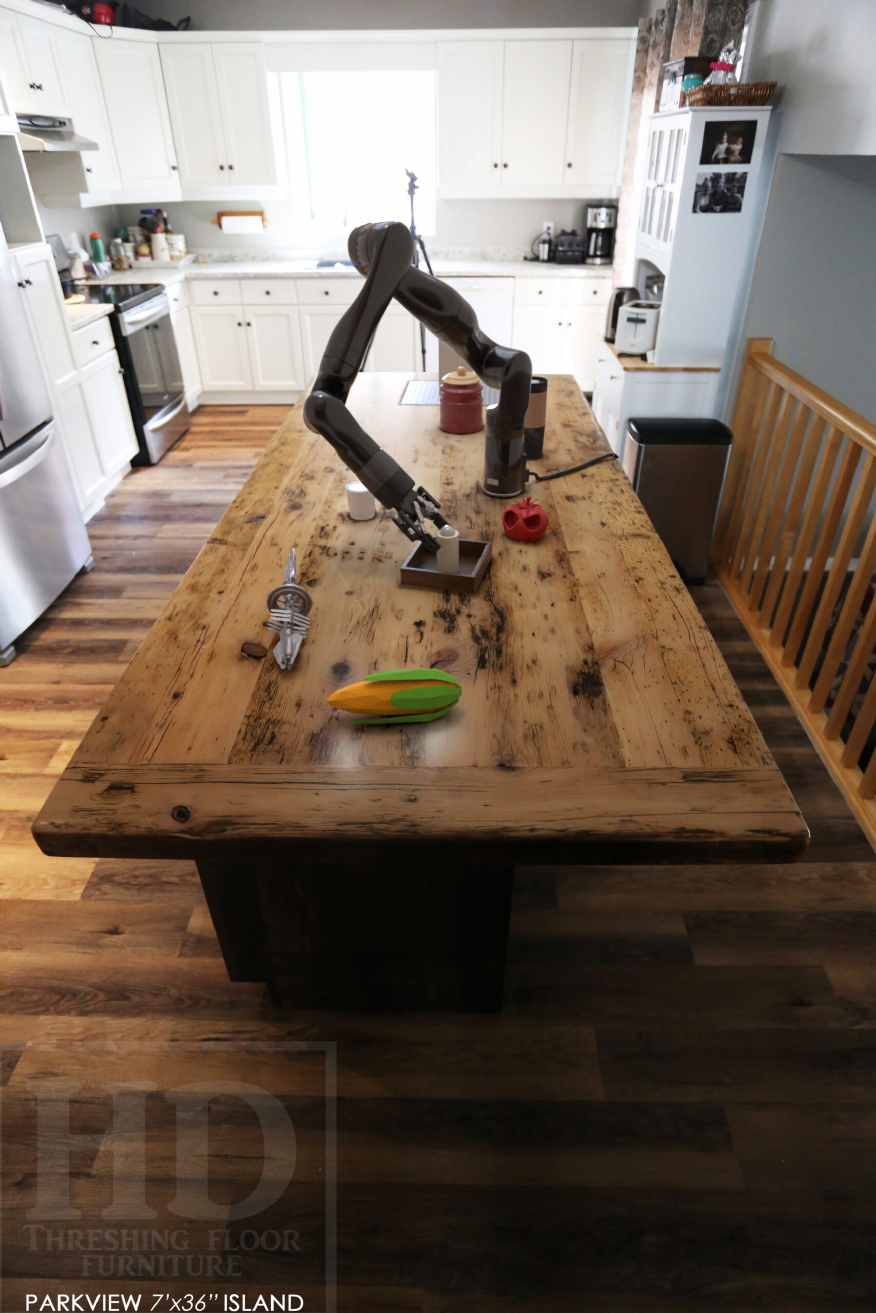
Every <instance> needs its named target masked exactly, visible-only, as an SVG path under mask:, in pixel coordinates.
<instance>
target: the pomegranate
mask: <svg viewBox="0 0 876 1313" xmlns="http://www.w3.org/2000/svg"><path fill="white" fill-rule="evenodd" d="M532 498H533V496H532V495H526V497H525V496H523V497H522V502H521V501H519V500H513V501H512V503H514V504H510V505H508V506H506V507H505V508H504V509H503V512H502V515H501V520H502V526H503V529H504V532H505V534H506V536H508V538H510V539H511V540H513V541H520V542H524V543H529V542H530V543H531V542H535V541H538V540H540V539H542V537H544V535H545V533H546V531H547V529H548V527H549V524H550V516H549V514H548V513H547V512H546V511H545V509H543V508H542V507H543V505H540V504H539V503H536V501H539V500H540V498H536V499H534V500H533V501H531V500H532Z"/></svg>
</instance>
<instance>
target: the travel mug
mask: <svg viewBox="0 0 876 1313" xmlns="http://www.w3.org/2000/svg"><path fill="white" fill-rule="evenodd" d="M548 383H549V382H548V378H546V377H543V376H537V375H536V376H533V375H532V382H531V391H530V401H529V406H528V410H527V412H526V415H525V429H524V449H523V452H524V453H526V455H527V457H526V461H527V460H529V461H530V460H532V461H533V460H538V459H540V458H542V457H543V451H544V442H545V431H546V430H545V429H546V417H547V416H546V415H547V400H548Z"/></svg>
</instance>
